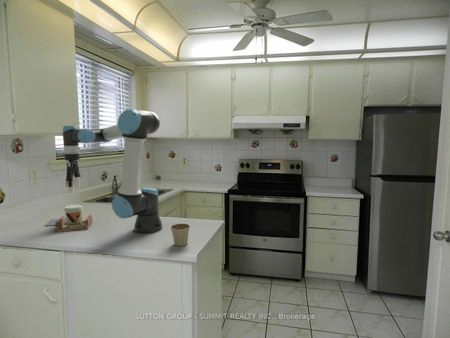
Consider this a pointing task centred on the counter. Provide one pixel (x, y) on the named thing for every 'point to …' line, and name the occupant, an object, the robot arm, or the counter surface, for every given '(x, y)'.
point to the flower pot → (180, 234)
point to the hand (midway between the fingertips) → (74, 190)
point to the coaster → (53, 222)
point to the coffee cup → (74, 216)
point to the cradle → (61, 223)
